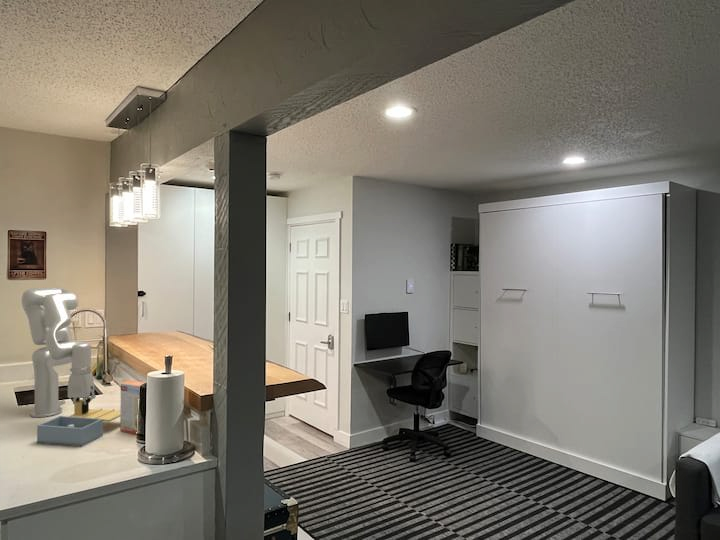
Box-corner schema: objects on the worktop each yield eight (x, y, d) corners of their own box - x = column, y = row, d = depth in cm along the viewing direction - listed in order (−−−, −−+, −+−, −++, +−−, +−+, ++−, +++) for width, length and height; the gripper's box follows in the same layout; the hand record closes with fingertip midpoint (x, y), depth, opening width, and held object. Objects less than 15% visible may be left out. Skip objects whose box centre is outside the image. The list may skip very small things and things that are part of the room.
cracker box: (154, 431, 206) (154, 383, 206) (142, 436, 201) (143, 386, 200) (131, 426, 212) (131, 379, 212) (119, 431, 207) (119, 382, 206)
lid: (66, 419, 208) (66, 404, 207) (87, 410, 220) (86, 396, 220) (109, 421, 205) (109, 406, 204) (128, 412, 217) (128, 398, 217)
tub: (37, 442, 192) (37, 425, 192) (59, 432, 204) (60, 416, 204) (82, 446, 189) (82, 428, 189) (102, 435, 201) (102, 418, 201)
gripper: (58, 372, 211) (58, 414, 211) (92, 373, 208) (92, 415, 209) (71, 368, 218) (71, 409, 218) (103, 369, 216) (104, 410, 216)
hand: (81, 412), depth 213 cm, fingers closed on lid, 3 cm apart
